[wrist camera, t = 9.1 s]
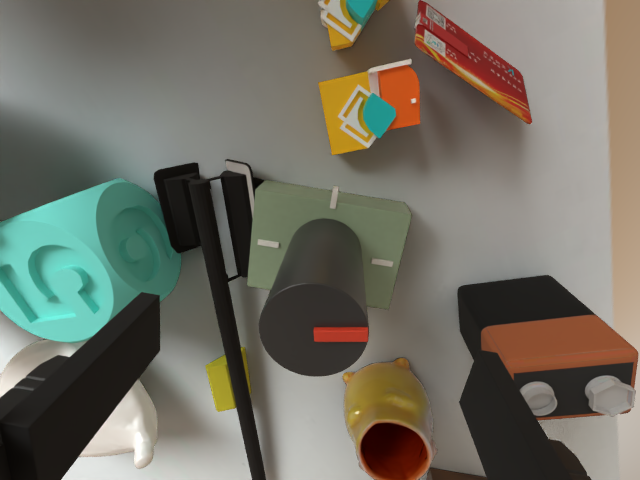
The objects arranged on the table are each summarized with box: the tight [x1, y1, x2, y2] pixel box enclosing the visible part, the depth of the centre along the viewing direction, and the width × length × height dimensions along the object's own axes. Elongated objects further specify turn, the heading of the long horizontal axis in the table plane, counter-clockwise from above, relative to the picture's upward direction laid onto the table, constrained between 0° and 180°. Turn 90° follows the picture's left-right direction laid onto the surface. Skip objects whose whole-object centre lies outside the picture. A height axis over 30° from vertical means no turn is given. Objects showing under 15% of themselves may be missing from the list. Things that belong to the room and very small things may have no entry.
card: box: [414, 0, 532, 124], centre depth 20 cm, size 8×1×5 cm
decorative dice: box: [0, 178, 181, 343], centre depth 25 cm, size 8×8×8 cm
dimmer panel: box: [247, 180, 412, 310], centre depth 26 cm, size 10×9×3 cm
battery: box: [458, 275, 638, 420], centre depth 24 cm, size 4×7×10 cm, turn 100°
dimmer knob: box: [259, 218, 369, 376], centre depth 20 cm, size 5×5×9 cm
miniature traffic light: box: [154, 159, 266, 480], centre depth 31 cm, size 7×6×30 cm
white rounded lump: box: [0, 339, 157, 469], centre depth 30 cm, size 10×11×12 cm
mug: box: [342, 358, 437, 480], centre depth 29 cm, size 12×7×7 cm, turn 18°
